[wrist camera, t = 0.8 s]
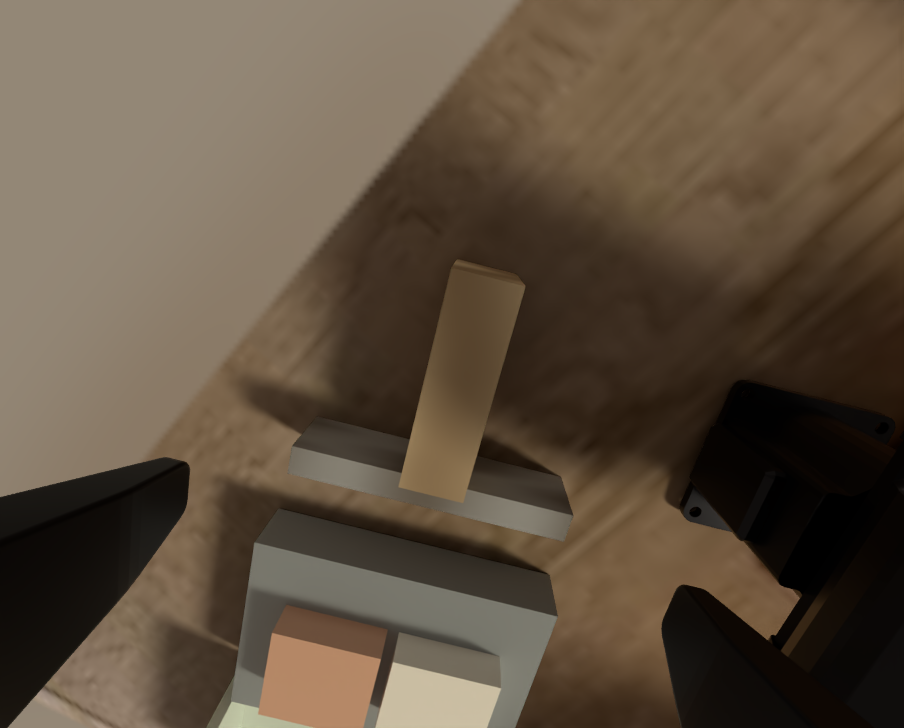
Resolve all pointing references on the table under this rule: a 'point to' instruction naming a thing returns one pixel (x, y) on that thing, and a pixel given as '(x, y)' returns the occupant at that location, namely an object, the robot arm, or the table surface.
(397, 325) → the table surface
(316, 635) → the tile terracotta
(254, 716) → the tray
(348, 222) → the table surface
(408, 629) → the grey stepped riser
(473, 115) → the table surface
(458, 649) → the tile cream
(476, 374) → the scraper
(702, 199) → the table surface
